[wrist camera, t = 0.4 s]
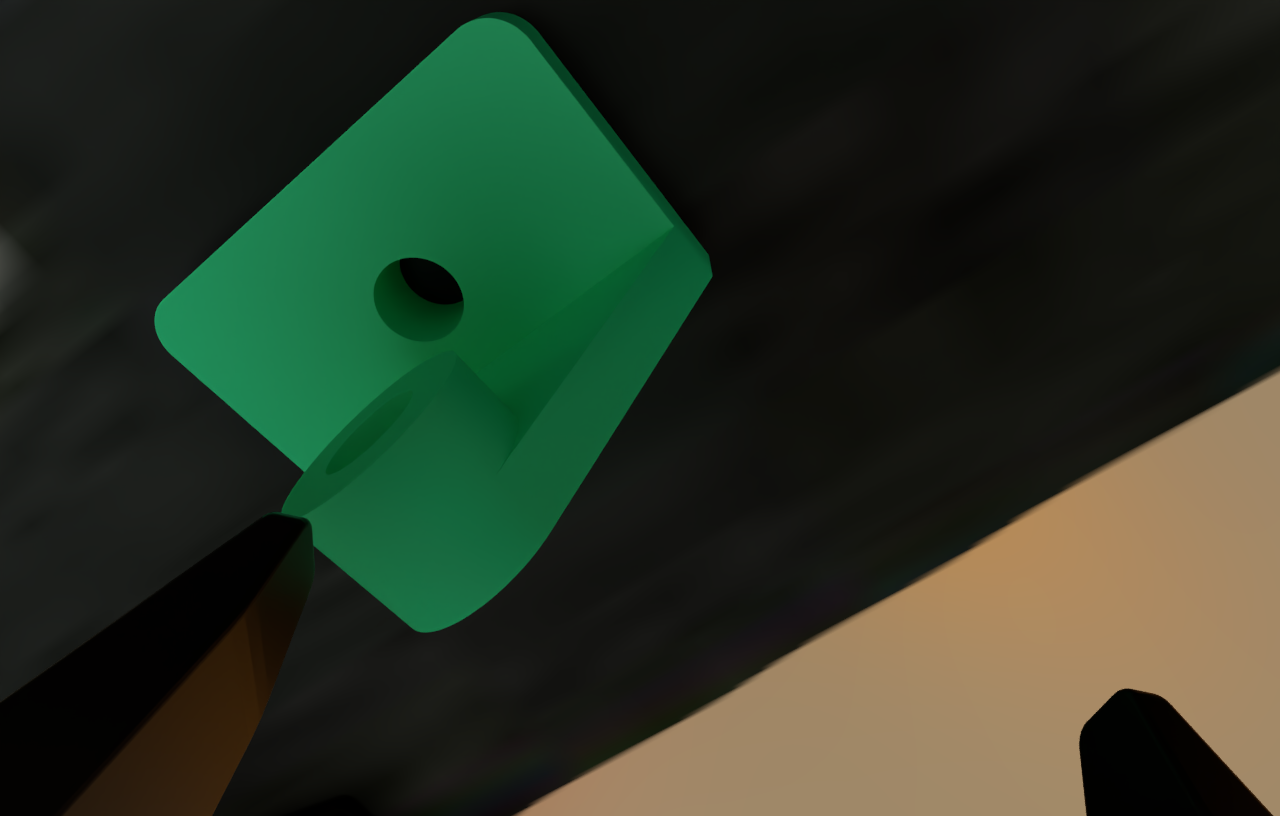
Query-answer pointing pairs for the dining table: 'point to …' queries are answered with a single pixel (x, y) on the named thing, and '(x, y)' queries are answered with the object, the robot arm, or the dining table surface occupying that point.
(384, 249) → the camera mount
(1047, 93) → the dining table surface
